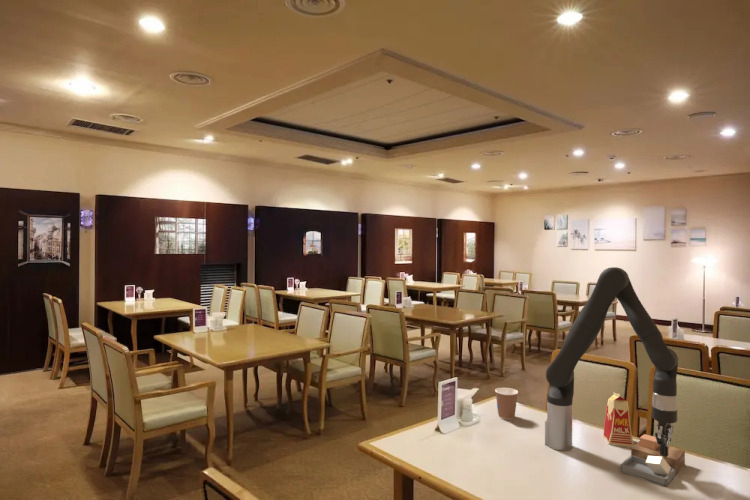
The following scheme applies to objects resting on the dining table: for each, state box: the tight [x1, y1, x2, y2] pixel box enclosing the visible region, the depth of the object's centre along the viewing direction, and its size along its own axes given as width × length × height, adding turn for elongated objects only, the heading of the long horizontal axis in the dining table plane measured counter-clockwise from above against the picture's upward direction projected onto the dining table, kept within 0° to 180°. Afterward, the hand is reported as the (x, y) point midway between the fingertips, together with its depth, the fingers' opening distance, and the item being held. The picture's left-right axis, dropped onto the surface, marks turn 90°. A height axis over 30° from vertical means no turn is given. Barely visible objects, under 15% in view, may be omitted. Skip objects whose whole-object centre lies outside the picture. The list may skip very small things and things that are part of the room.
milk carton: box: [603, 391, 635, 448], centre depth 188 cm, size 9×9×20 cm
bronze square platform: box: [630, 440, 686, 475], centre depth 169 cm, size 14×12×5 cm
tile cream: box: [645, 456, 671, 475], centre depth 158 cm, size 5×5×3 cm
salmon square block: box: [639, 433, 659, 450], centre depth 172 cm, size 5×5×3 cm
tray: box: [619, 454, 677, 487], centre depth 161 cm, size 14×11×2 cm
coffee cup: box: [494, 387, 519, 420], centre depth 214 cm, size 10×10×12 cm
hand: (664, 455), depth 162 cm, fingers closed
